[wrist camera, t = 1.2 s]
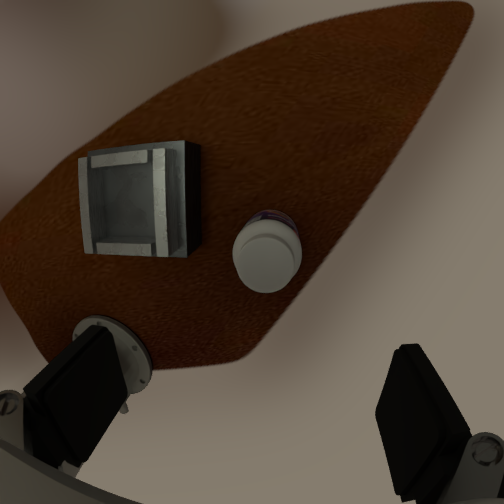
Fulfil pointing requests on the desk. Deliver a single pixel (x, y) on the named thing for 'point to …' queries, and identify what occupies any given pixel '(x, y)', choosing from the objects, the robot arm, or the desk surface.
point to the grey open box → (141, 199)
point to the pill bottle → (267, 251)
